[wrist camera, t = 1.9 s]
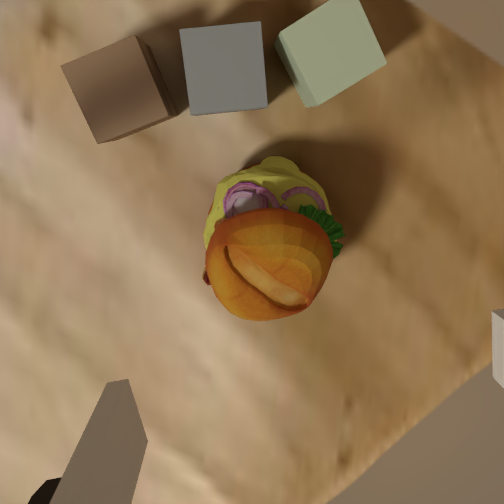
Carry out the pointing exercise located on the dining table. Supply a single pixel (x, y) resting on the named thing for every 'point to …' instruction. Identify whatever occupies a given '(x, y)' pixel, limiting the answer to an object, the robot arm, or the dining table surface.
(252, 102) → the slate block
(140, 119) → the walnut block
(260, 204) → the cheeseburger
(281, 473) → the dining table surface
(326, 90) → the sage block
